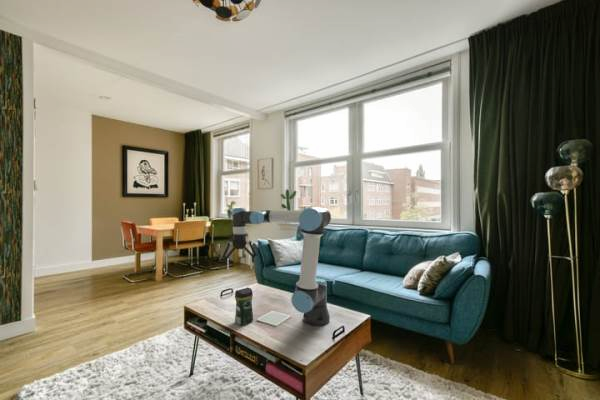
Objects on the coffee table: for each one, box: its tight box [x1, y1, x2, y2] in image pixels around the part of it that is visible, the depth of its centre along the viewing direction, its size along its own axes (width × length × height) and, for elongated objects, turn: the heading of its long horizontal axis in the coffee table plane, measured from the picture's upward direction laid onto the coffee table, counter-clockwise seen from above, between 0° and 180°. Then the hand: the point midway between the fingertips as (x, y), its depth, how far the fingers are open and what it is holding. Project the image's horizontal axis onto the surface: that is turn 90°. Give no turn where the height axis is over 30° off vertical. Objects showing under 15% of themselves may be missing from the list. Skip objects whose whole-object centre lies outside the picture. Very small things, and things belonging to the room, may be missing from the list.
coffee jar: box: [234, 286, 254, 326], centre depth 152 cm, size 10×8×19 cm
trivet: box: [256, 310, 292, 328], centre depth 156 cm, size 14×14×1 cm
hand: (239, 269), depth 163 cm, fingers open, 13 cm apart
